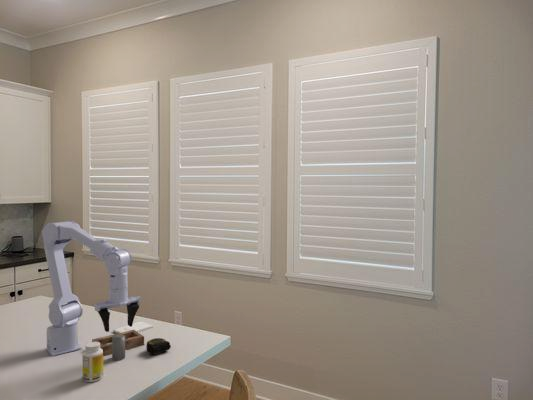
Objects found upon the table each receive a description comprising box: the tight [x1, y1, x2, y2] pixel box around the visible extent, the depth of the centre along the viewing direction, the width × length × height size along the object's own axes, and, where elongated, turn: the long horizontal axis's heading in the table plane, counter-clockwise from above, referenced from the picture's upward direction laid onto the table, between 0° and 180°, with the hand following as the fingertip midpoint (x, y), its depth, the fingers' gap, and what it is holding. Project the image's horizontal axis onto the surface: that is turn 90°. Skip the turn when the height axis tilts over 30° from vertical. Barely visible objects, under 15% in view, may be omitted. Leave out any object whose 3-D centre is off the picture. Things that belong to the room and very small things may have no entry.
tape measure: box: [145, 337, 172, 355], centre depth 138 cm, size 7×7×4 cm
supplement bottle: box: [82, 341, 104, 383], centre depth 119 cm, size 6×6×10 cm
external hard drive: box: [112, 320, 153, 334], centre depth 159 cm, size 2×8×12 cm
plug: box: [111, 335, 126, 362], centre depth 133 cm, size 4×4×7 cm
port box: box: [91, 330, 145, 357], centre depth 142 cm, size 15×9×3 cm, turn 131°
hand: (118, 328), depth 132 cm, fingers open, 7 cm apart
